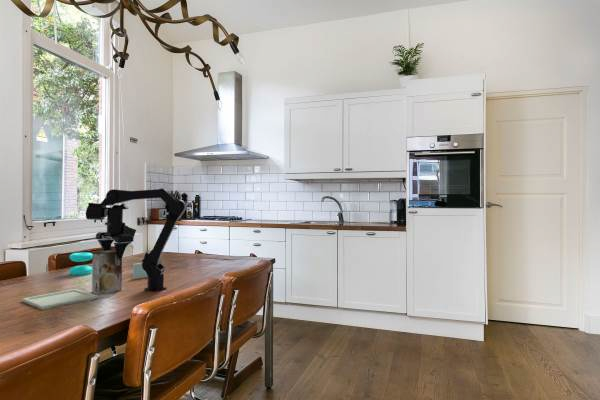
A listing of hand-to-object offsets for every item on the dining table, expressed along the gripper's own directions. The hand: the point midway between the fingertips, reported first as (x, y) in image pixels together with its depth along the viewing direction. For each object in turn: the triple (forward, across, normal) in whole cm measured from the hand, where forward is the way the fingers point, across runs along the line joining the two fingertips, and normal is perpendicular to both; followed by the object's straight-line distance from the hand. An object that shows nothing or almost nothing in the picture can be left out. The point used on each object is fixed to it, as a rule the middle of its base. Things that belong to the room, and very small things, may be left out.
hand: (113, 258), depth 151 cm
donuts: (+14, +42, -7) cm, 45 cm away
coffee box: (+13, 0, +3) cm, 14 cm away
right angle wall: (+14, +18, -23) cm, 32 cm away
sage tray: (+13, 0, +20) cm, 24 cm away
